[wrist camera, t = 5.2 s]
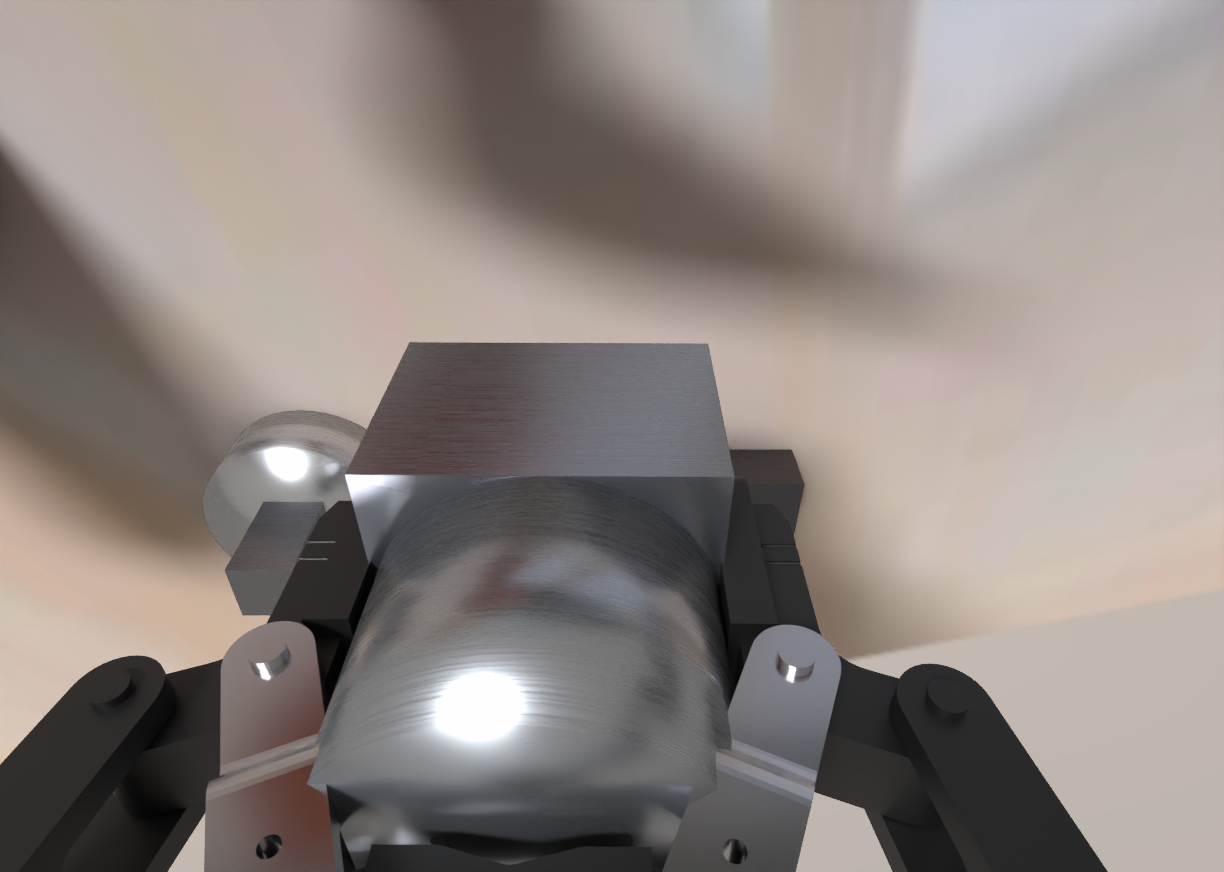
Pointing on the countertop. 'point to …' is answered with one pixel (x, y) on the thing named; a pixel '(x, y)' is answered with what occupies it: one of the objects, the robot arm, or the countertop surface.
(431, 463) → the cylinder on square block
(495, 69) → the countertop surface
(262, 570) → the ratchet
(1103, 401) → the countertop surface
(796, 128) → the countertop surface
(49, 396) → the countertop surface
